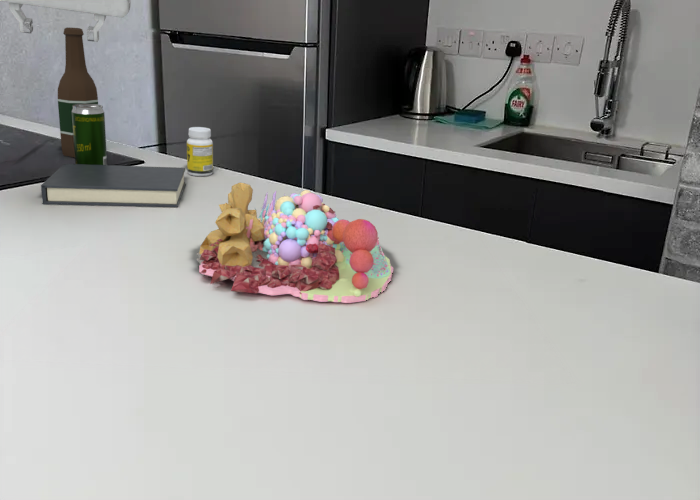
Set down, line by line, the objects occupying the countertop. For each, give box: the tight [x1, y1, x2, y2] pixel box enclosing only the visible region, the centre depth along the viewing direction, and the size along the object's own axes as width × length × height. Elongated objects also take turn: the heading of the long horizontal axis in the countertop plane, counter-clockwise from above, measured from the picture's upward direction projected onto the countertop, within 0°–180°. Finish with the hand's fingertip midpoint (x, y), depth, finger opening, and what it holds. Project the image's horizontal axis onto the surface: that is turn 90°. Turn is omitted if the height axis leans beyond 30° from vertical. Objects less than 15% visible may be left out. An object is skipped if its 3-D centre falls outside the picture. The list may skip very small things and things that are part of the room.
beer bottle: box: [57, 27, 99, 159], centre depth 132 cm, size 8×8×24 cm
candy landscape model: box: [195, 182, 395, 304], centre depth 86 cm, size 25×24×9 cm
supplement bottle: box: [186, 126, 214, 177], centre depth 126 cm, size 5×5×8 cm
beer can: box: [72, 103, 108, 165], centre depth 121 cm, size 5×5×12 cm
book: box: [40, 163, 186, 208], centre depth 111 cm, size 20×14×3 cm
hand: (60, 36), depth 103 cm, fingers open, 8 cm apart
